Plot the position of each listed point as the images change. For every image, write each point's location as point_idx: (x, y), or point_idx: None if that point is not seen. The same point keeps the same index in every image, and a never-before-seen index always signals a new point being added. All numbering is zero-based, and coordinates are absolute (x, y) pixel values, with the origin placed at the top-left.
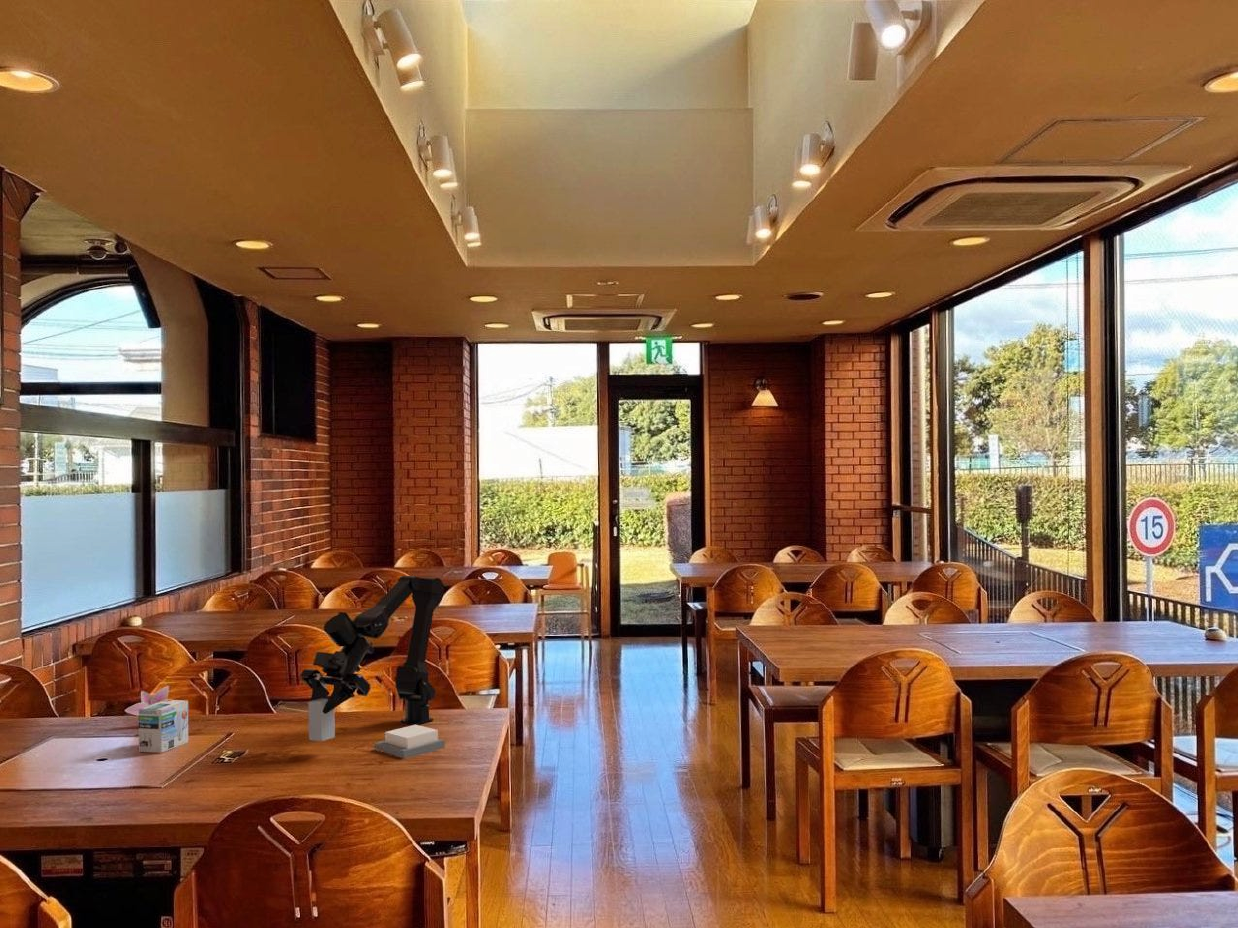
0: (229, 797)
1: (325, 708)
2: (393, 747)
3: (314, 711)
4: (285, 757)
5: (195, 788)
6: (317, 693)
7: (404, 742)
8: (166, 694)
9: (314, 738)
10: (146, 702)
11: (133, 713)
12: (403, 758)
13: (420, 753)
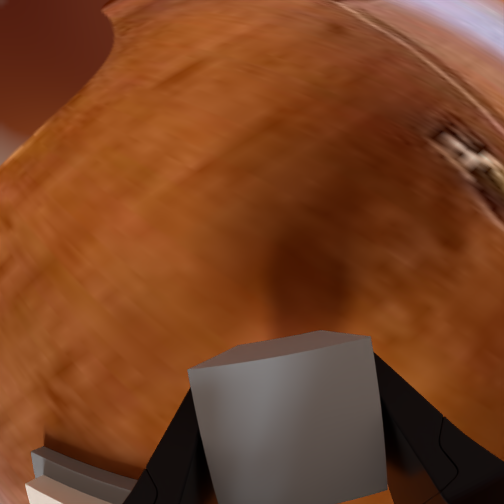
0: (158, 35)
1: (188, 392)
2: (75, 475)
3: (284, 348)
4: (362, 260)
5: (273, 16)
6: (417, 476)
7: (46, 484)
8: None
9: (284, 337)
10: None
11: None
12: (45, 447)
13: None
